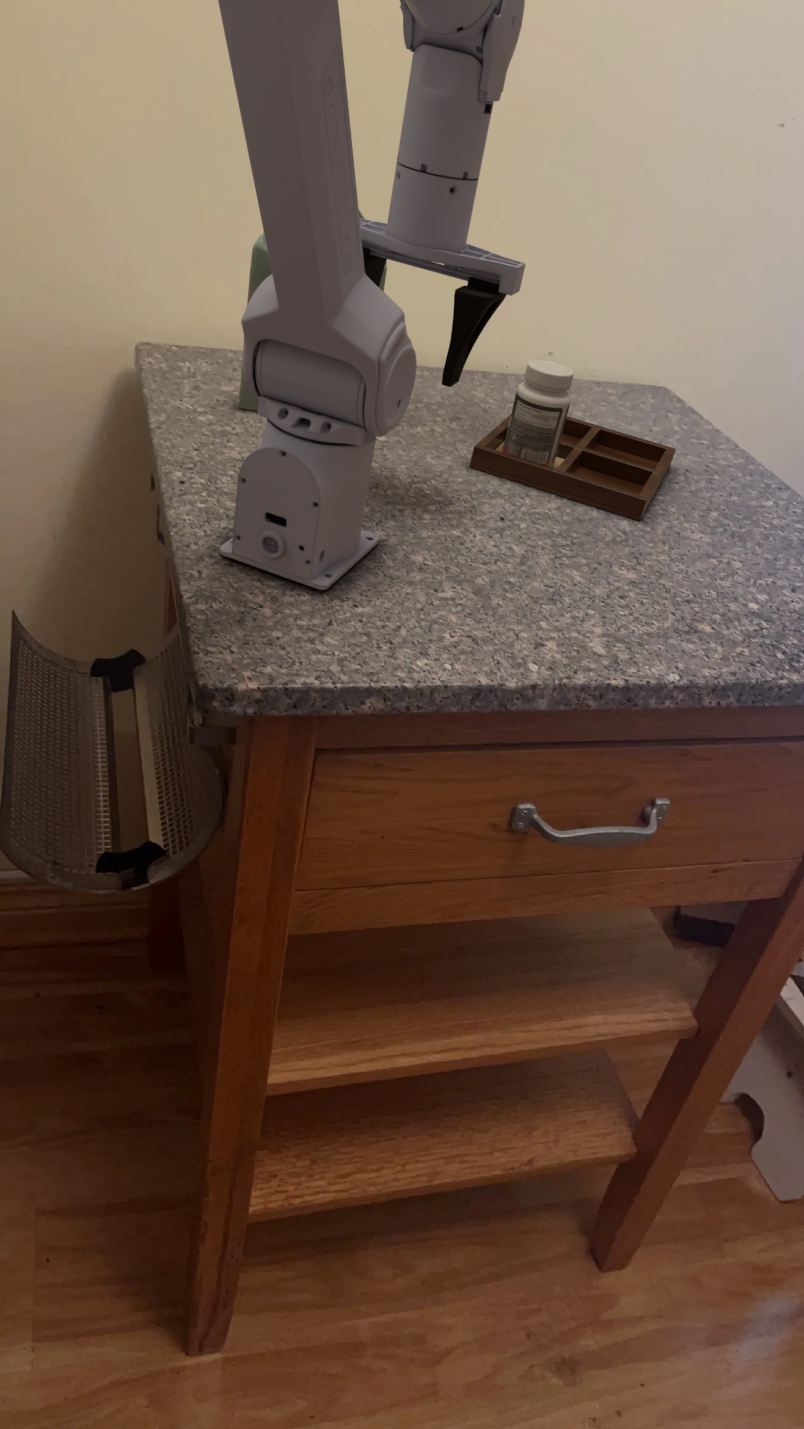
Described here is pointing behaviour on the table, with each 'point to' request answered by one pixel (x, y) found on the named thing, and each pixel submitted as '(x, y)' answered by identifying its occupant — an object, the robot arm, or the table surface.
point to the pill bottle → (539, 412)
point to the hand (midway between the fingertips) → (403, 369)
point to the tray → (585, 466)
